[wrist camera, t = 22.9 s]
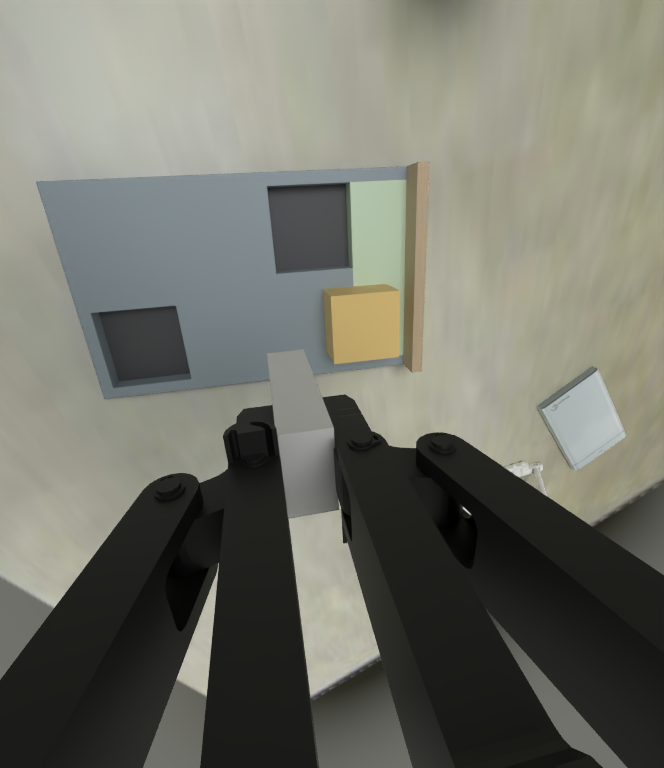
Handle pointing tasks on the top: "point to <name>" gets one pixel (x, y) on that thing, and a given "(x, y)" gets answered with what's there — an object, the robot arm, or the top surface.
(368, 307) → the ochre block
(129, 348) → the board
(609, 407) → the hard drive
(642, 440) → the top surface
